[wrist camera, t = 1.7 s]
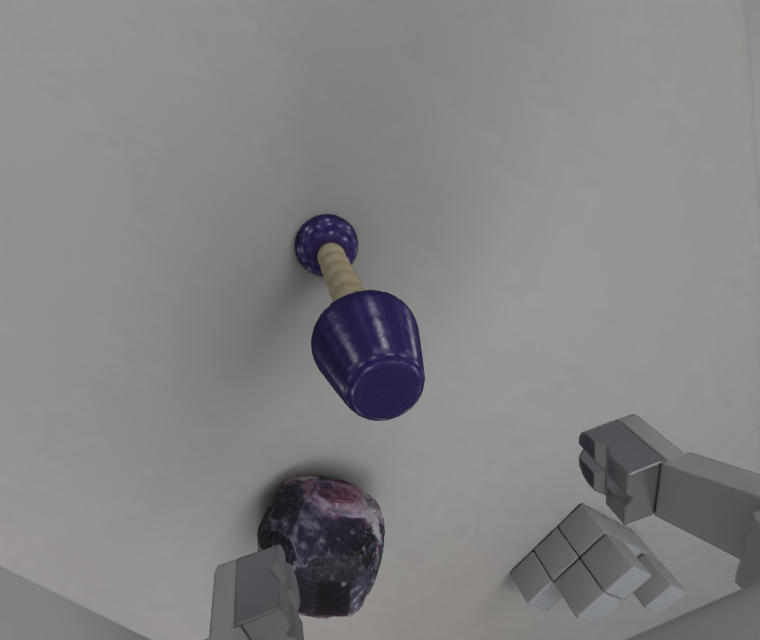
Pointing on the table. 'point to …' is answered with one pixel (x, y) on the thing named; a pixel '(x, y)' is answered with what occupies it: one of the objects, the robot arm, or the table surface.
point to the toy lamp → (360, 328)
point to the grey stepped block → (595, 569)
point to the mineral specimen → (326, 542)
